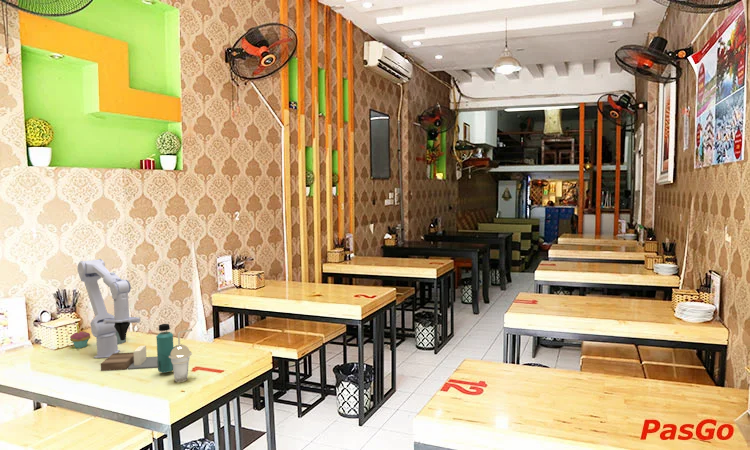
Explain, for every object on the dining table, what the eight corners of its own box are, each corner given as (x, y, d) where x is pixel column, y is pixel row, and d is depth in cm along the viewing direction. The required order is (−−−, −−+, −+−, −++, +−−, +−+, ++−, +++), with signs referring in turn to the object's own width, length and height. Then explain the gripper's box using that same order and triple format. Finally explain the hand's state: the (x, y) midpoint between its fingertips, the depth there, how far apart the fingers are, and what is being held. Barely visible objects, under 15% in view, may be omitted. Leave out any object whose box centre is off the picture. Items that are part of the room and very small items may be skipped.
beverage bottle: (178, 371, 212) (176, 322, 211) (167, 377, 206) (165, 327, 205) (165, 370, 215) (163, 321, 213) (153, 375, 208) (151, 325, 207)
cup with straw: (182, 374, 208) (180, 325, 207) (198, 378, 204) (196, 327, 202) (164, 381, 201) (162, 330, 200) (180, 385, 196) (178, 333, 195)
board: (113, 360, 229) (113, 353, 229) (137, 358, 230) (137, 352, 230) (100, 370, 215) (100, 363, 215) (126, 369, 216) (126, 362, 216)
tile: (139, 345, 227) (145, 345, 227) (140, 359, 227) (146, 359, 228) (133, 351, 219) (139, 351, 219) (134, 365, 219) (140, 365, 220)
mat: (138, 358, 230) (138, 357, 230) (167, 357, 232) (167, 355, 231) (127, 369, 216) (127, 368, 216) (158, 367, 218) (158, 366, 218)
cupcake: (84, 349, 247) (83, 323, 246) (66, 349, 247) (65, 324, 246) (94, 343, 255) (93, 319, 254) (77, 344, 255) (75, 319, 254)
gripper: (100, 311, 221) (101, 343, 222) (136, 309, 223) (137, 341, 224) (106, 307, 228) (108, 338, 229) (141, 306, 230) (142, 336, 231)
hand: (123, 339), depth 227 cm, fingers closed
